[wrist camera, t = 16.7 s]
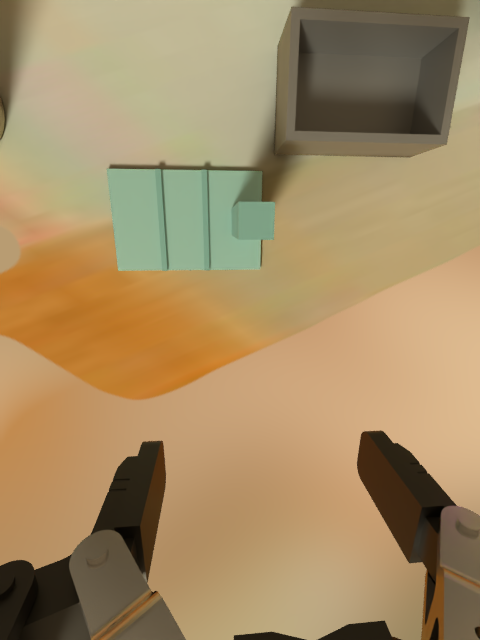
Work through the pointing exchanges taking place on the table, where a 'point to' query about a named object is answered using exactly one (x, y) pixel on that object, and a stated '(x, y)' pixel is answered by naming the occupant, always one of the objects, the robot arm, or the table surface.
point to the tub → (366, 82)
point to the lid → (189, 219)
